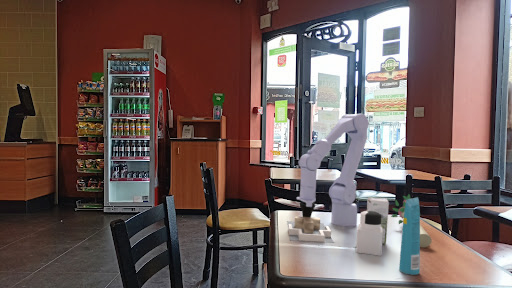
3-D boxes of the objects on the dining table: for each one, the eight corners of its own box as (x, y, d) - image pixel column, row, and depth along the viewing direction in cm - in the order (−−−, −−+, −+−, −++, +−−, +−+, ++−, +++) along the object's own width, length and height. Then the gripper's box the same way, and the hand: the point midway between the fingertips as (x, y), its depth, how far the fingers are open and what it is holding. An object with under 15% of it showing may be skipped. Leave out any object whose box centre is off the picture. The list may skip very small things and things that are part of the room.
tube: (404, 265, 98) (408, 195, 98) (423, 270, 95) (427, 198, 95) (394, 273, 93) (398, 198, 92) (414, 278, 90) (418, 201, 89)
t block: (318, 227, 134) (319, 217, 134) (321, 233, 125) (322, 223, 125) (294, 225, 134) (294, 216, 134) (295, 232, 125) (296, 222, 125)
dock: (327, 231, 128) (328, 226, 128) (334, 242, 115) (334, 236, 115) (288, 229, 129) (288, 223, 128) (289, 239, 116) (290, 233, 116)
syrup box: (382, 239, 124) (384, 197, 123) (386, 244, 118) (388, 200, 118) (365, 238, 124) (367, 196, 124) (368, 243, 118) (371, 199, 118)
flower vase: (409, 267, 119) (389, 220, 153) (448, 260, 117) (419, 214, 150) (401, 235, 117) (382, 195, 151) (441, 227, 114) (413, 188, 148)
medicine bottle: (381, 249, 113) (383, 211, 112) (381, 256, 106) (383, 215, 106) (357, 246, 115) (359, 208, 115) (356, 252, 108) (358, 212, 108)
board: (323, 225, 140) (323, 223, 140) (334, 245, 114) (334, 242, 114) (286, 223, 141) (287, 221, 141) (289, 242, 115) (290, 240, 115)
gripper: (296, 183, 142) (294, 217, 143) (298, 188, 128) (296, 226, 128) (314, 184, 142) (312, 218, 142) (318, 189, 128) (316, 227, 128)
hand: (306, 222), depth 135 cm, fingers closed
